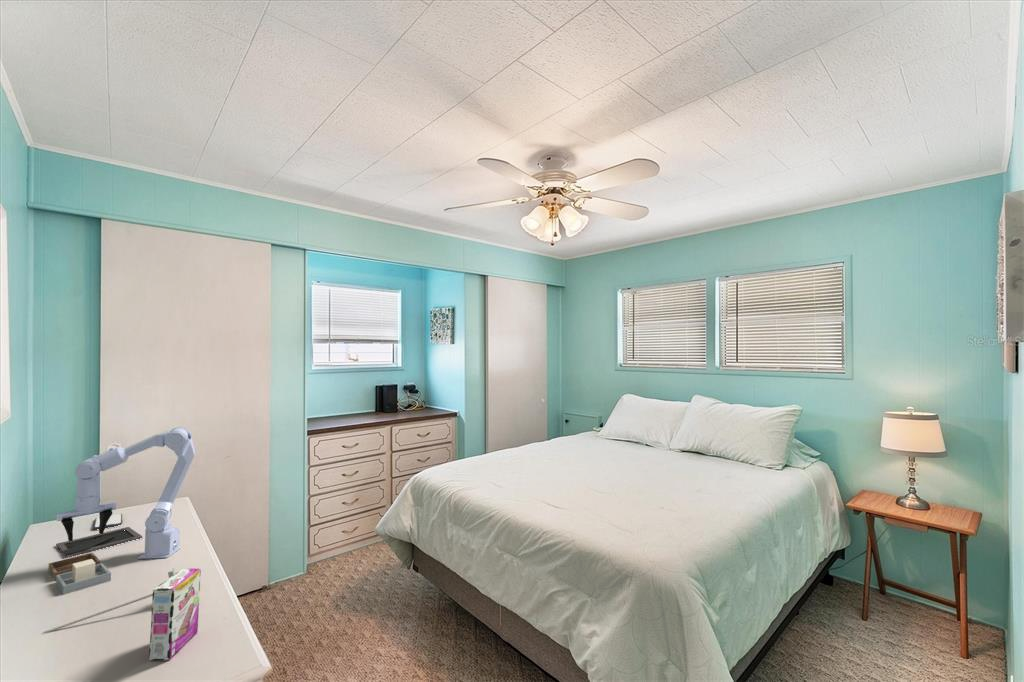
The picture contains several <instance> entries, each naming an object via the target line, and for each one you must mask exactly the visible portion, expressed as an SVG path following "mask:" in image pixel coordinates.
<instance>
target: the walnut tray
mask: <svg viewBox="0 0 1024 682" xmlns="http://www.w3.org/2000/svg"><path fill="white" fill-rule="evenodd" d="M89 559H93V561H94V562H95V565H97V564H101V563H102V562H101V560H100V558H98V557H97V555H95V553H94V552H89V553H85V554H81V555H77V556H73V557H69V558H66V559H62V560H61V559H60V560H57V561H54V562H50V563H48V566H47V568H48V570H47V571H48V573H49V575H50V576H51V578H52V579H53V581H54V582H56V575H60V574H63V573H67V572H71V571H72V565H73V564H74V563H78V562H82V561H85V560H89Z"/></svg>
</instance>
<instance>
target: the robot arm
mask: <svg viewBox="0 0 1024 682" xmlns="http://www.w3.org/2000/svg"><path fill="white" fill-rule="evenodd" d="M193 442H194V441H193V436H192V435H191V433H190V432H189V431H188V429H186V428H185V427H181V426H178V427H174V428H172V429H171V430H170V429H168V430H165V431H162V432H158V433H155V434H154V435H152V436H149V437H147V438H144V439H142V440H141V441H138V442H136V443H134V444H131V445H129V446H127V447H120V446H117V447H115V446H113V447H110V448H108V451H105V452H103V453H100V454H98V455H97V454H95V455H92V456H91V458H87V459H85V460H83V461H82V462H81V463H79V464H78V465H77V466H76V467H75V470H74V474H75V475H76V477H77V479H76V480H77V481H76V482H77V483H76V492H75V493H76V496H75V508H74V509H71V510H68V511H64V512H60V513H56V519H55V520H56V522H61V524H62V526H63V527H64V529H65V532H66V534H67V535H66V536H67V541H73V540H74V538H73V536H74V533H73V529H74V523H75V521H74V519H73V518H77V517H78V518H79V517H82V516H83V517H84V516H89V515H93V514H98V513H99V517H100V525H99V530H98V534H103V533H104V532H105V530H106V529H105V526H106V524H107V522H108V520H109V518H110V517H111V515H113V511H115V510H116V508H117V503H115V502H112V503H105V504H100V491H101V490H100V487H101V481H100V476H101V475H100V473H101V472H105V471H108V470H110V469H112V468H114V467H117V466H120V465H122V464H124V463H126V462H127V461H128V459H129V457H130V456H133V455H135V454H138V453H141V452H143V451H146V450H148V449H151V448H153V447H159V448H163V447H165V446H166V447H167V448H168V449H170V450H172V451H173V452H174V453H175V455H176V457H177V460H176V463H175V464H174V467H173V468H172V470H171V473H170V475H169V478H168V480H167V482H166V484H165V486H164V488H163V490H162V493H161V495H160V497H159V499H158V502H157V504H156V506H155V507H154V508H152V510H151V512H150V514H149V516H148V517H147V518H146V519H145V521H144V522H145V523H144V526H145V531H144V533H145V537H144V553H143V554H141V555H140V556H138V559H139V560H142V559H164V558H165V559H166V558H170V557H171V556H172V555H174V554H175V553H176V552H177V551H178V550H180V549H181V546H180V536H181V535H180V534H181V532H180V529H179V528H178V527H173V526H172V523H170V521H169V520H170V518H171V516H172V507H173V505H174V503H175V500H176V498H177V496H178V494H179V492H180V490H181V487H182V484H183V483H184V480H185V478H186V476H187V473H188V472H189V469H190V466H191V465H192V462H193V460H194V458H195V456H196V450H195V446H194V443H193Z"/></svg>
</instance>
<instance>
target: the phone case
mask: <svg viewBox="0 0 1024 682" xmlns="http://www.w3.org/2000/svg"><path fill="white" fill-rule="evenodd" d="M121 524H122V525H123V514H122V513H117V514H112V515H111V517H110V518H109V520H108V522H107V524H106V526H105V528H108V527H114V526H118V525H121ZM99 525H100V516H97V517H95V520H94V523H93V530H94V529H95V530H96V531H98V530H97V529H99ZM114 528H115V527H114ZM108 529H109V528H108ZM95 530H94V531H95Z"/></svg>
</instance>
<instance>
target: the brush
mask: <svg viewBox="0 0 1024 682" xmlns="http://www.w3.org/2000/svg"><path fill="white" fill-rule="evenodd" d="M176 573H177V572H176V567H173V569H172V570H169V571H168V572H167V574H168V579H169V578H170V577H172V576H173V575H175V574H176ZM150 597H151V598H152V597H153V592H152V593H150V594H147V595H145V596H142V597H139V598H135V599H133V600H130V601H128V602H127V601H126V602H125V603H122V604H119V605H116V606H114V607H110V608H107V609H105V610H104V609H103V610H101V611H98V612H96V613H92V614H90V615H87V616H85V617H82V618H79V619H76V620H74V621H71V622H68V623H64V624H61V625H58V626H57V627H53V628H51V629H47V630H45V631H43V633H42V634H43V635H44V633H45V634H49V633H51V632H54V631H57V630H60V629H62V628H65V627H68V626H72V625H74V624H76V623H79V622H82V621H86V620H89V619H91V618H93V617H96V616H99V615H103V614H105V613H108V612H111V611H113V610H117V609H120V608H122V607H125V606H128V605H130V604H131V605H132V604H133V603H137V602H139V601H143V600H145V599H147V598H150Z"/></svg>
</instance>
